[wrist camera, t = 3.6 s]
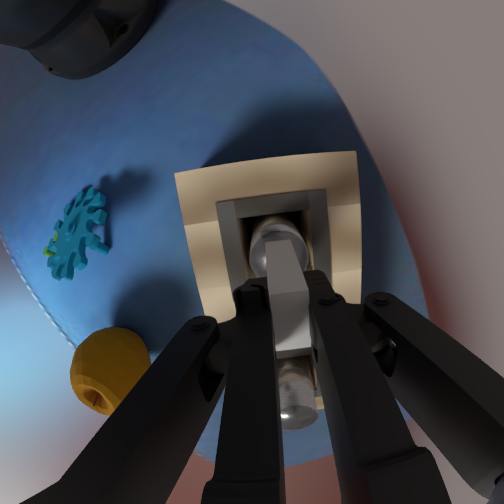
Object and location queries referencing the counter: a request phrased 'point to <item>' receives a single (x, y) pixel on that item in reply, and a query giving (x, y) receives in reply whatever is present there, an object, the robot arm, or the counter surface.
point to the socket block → (270, 202)
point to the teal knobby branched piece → (76, 235)
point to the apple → (108, 367)
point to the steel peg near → (274, 230)
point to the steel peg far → (296, 393)
